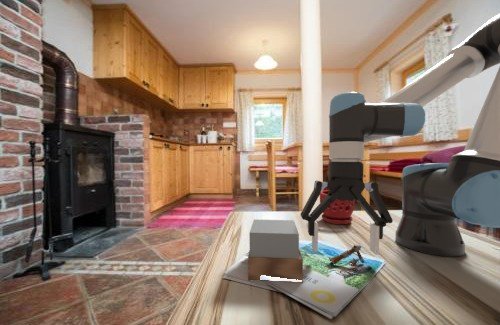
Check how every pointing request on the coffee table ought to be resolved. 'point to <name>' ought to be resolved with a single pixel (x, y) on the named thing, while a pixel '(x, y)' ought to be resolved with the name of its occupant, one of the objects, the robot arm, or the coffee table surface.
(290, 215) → the coffee table surface
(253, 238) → the tower top
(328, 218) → the plant pot
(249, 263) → the tower bottom
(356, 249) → the wooden post with brackets
